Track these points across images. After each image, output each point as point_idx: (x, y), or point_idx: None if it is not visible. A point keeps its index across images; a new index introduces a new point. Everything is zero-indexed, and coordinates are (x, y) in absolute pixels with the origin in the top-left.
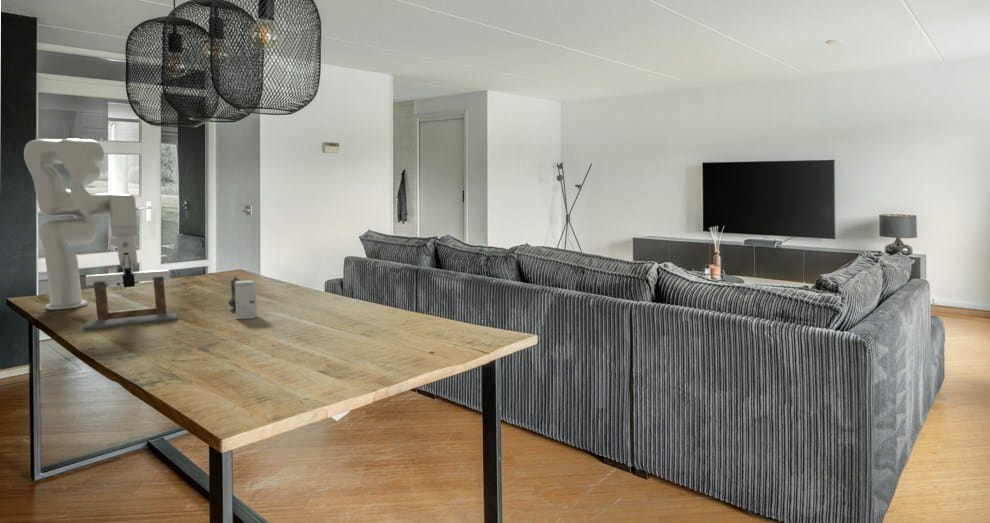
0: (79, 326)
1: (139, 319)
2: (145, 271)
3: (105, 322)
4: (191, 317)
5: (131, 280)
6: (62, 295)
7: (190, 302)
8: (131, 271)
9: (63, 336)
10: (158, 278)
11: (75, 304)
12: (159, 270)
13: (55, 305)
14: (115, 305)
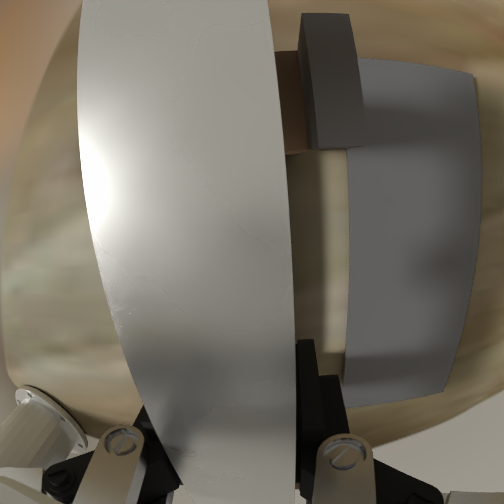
0: (374, 410)
1: (432, 230)
2: (155, 306)
3: (403, 352)
4: (438, 22)
5: (335, 397)
6: (60, 453)
7: (60, 54)
8: (370, 481)
9: (474, 405)
10: (357, 75)
11: (59, 416)
12: (112, 41)
13: (75, 445)
14: (38, 330)
